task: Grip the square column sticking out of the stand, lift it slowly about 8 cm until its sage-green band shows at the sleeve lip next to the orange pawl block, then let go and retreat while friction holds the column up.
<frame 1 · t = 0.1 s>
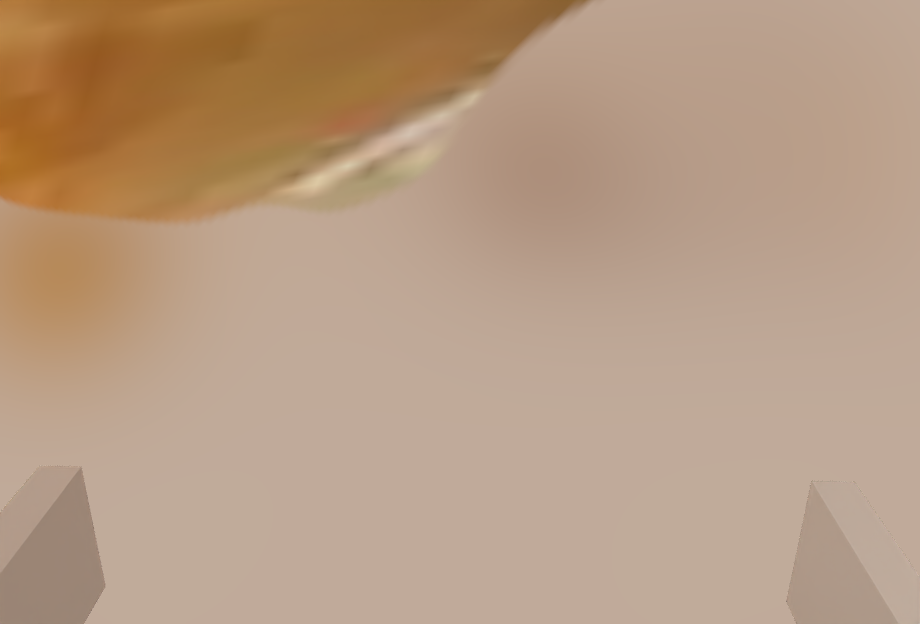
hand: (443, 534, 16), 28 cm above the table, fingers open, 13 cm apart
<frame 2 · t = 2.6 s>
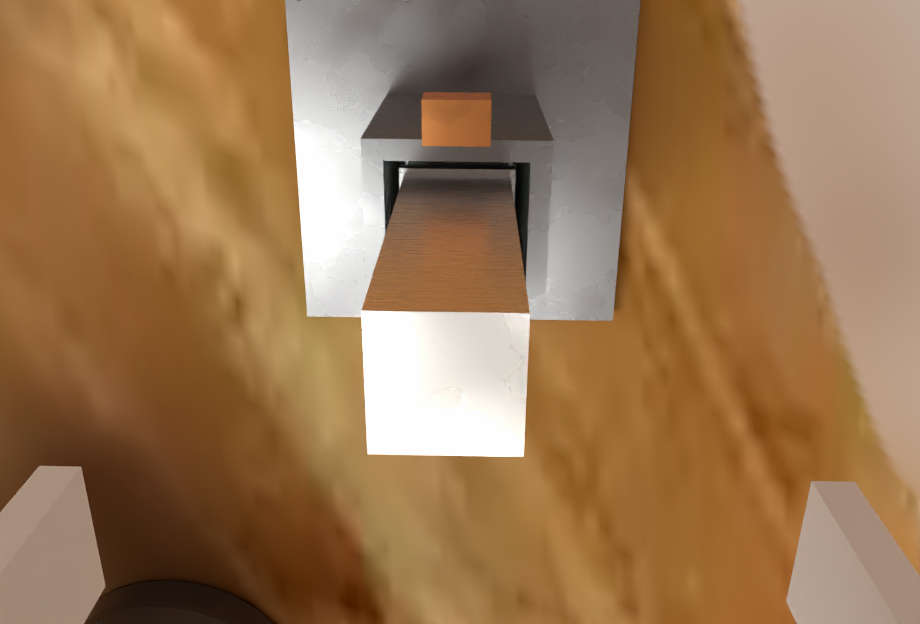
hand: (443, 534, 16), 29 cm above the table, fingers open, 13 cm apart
stand: (461, 163, 42), on the table
column: (455, 242, 31), point 12 cm above the table, slide at 0.0 cm
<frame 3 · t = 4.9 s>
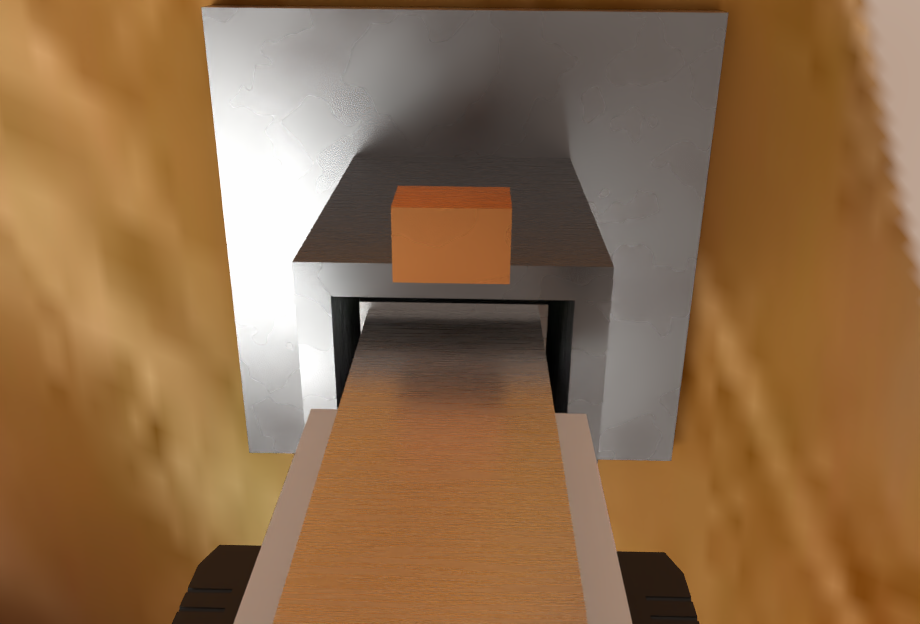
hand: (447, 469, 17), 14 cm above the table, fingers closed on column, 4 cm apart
stand: (461, 248, 30), on the table
column: (450, 432, 19), point 12 cm above the table, slide at 0.0 cm, touching gripper
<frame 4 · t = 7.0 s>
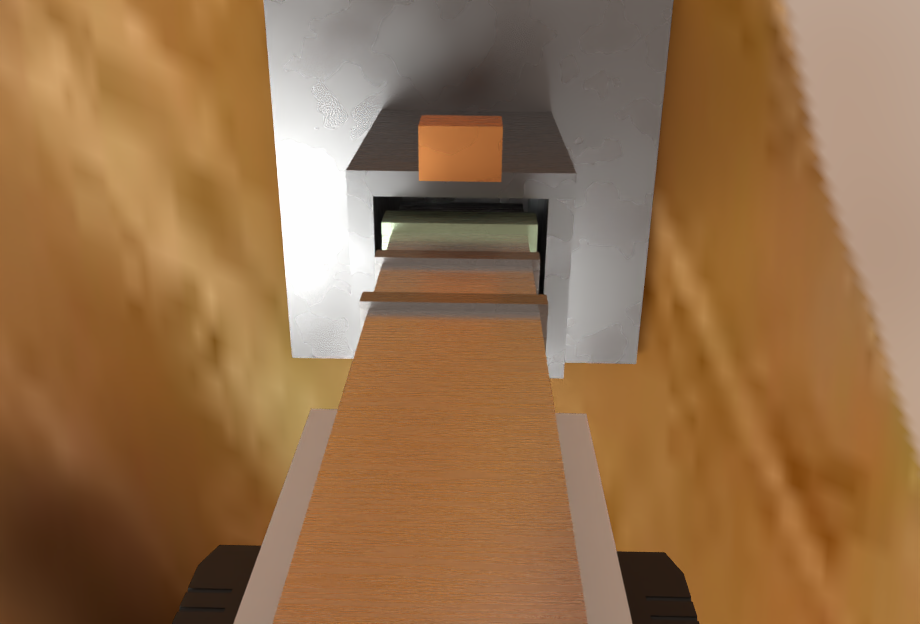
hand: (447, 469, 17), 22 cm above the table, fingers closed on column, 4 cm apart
stand: (465, 187, 37), on the table
column: (450, 431, 19), point 20 cm above the table, slide at 8.0 cm, touching gripper
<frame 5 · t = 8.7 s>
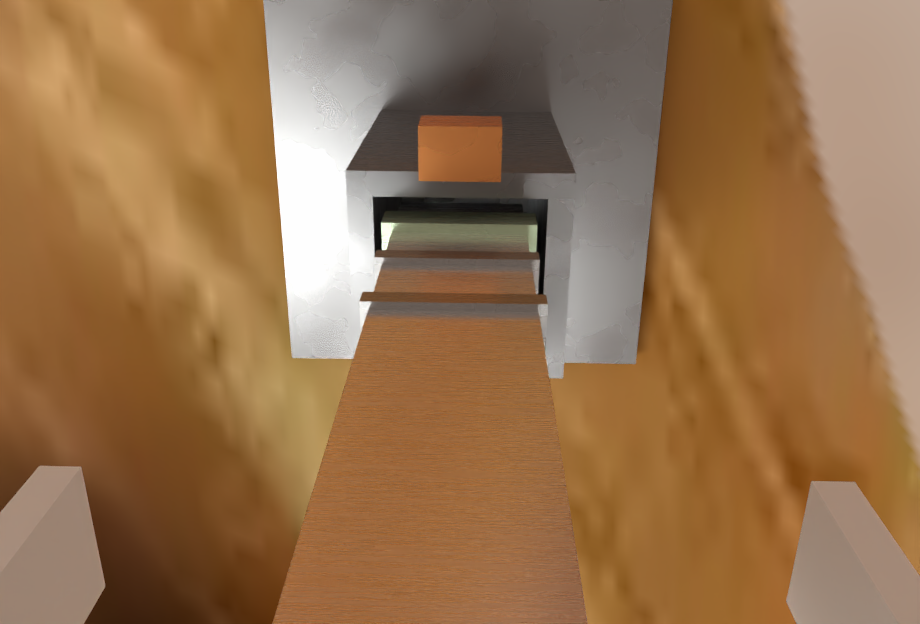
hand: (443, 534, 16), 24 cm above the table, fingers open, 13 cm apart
stand: (465, 187, 37), on the table
column: (450, 431, 19), point 20 cm above the table, slide at 8.0 cm
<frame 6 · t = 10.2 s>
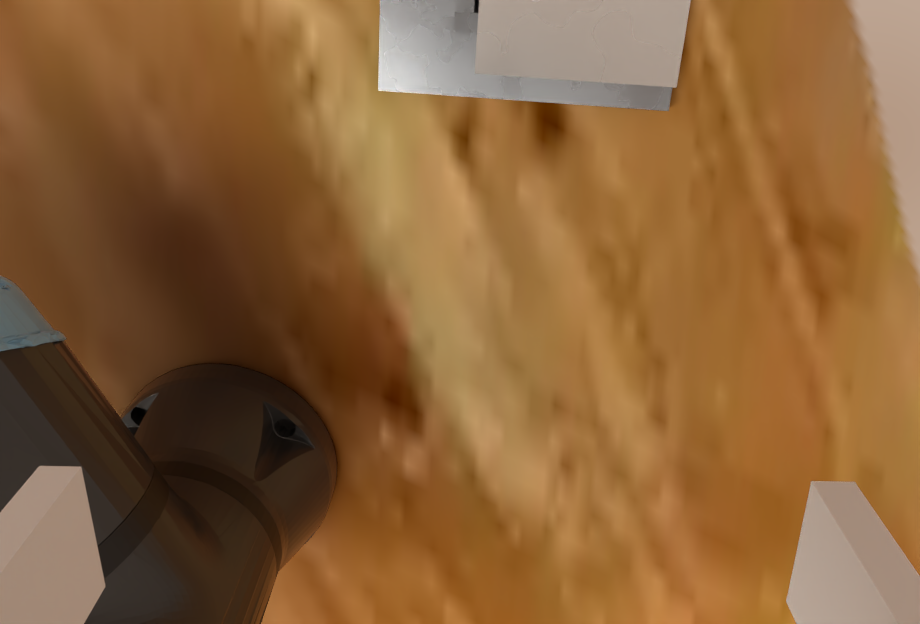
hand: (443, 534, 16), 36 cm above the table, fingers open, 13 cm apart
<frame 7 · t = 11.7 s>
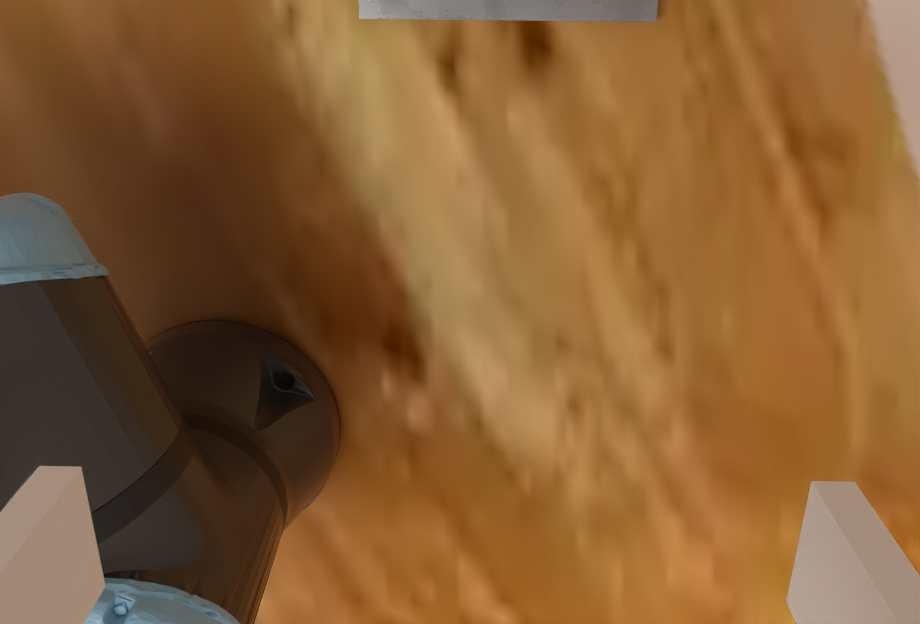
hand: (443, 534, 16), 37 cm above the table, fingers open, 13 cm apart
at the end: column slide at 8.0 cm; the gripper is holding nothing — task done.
